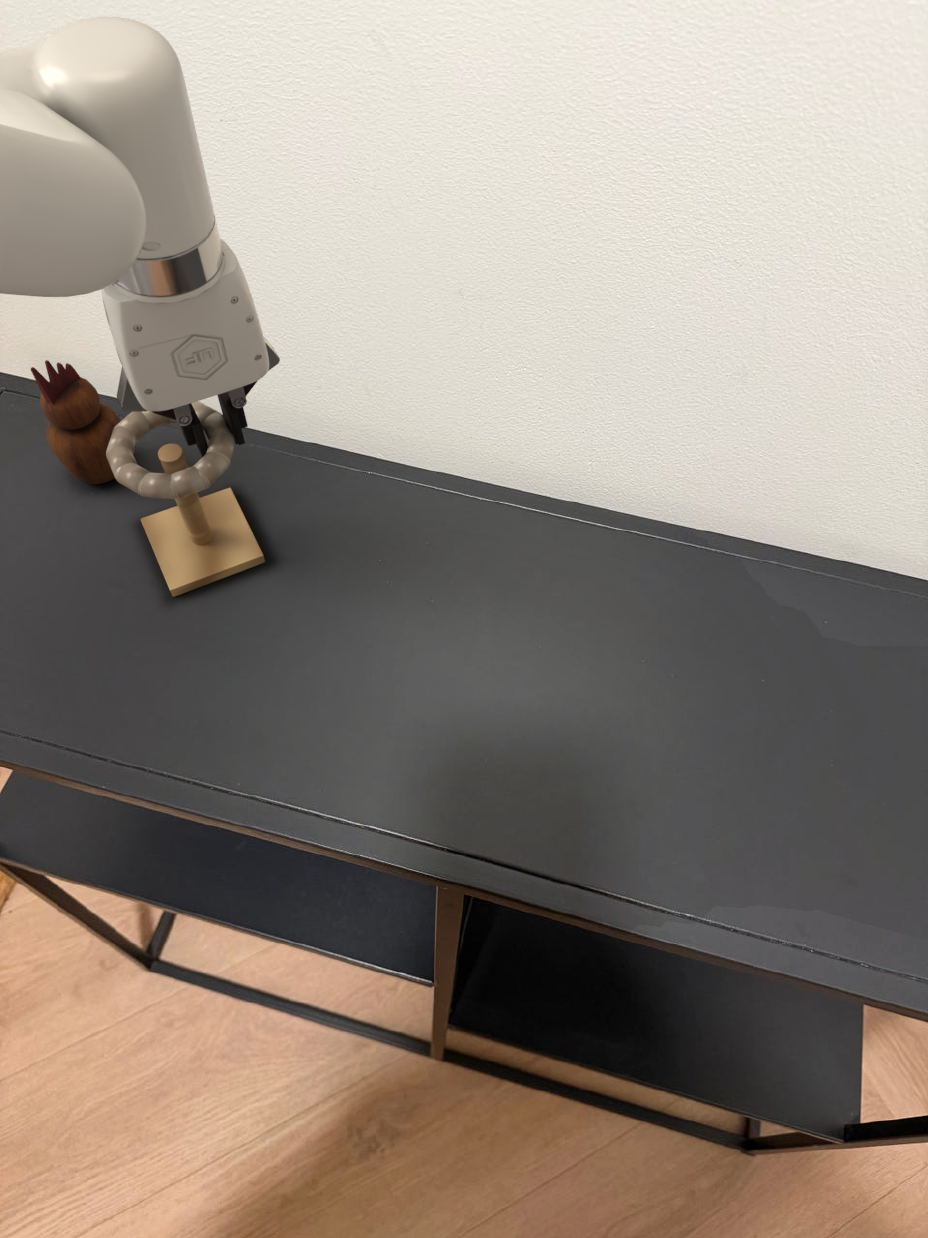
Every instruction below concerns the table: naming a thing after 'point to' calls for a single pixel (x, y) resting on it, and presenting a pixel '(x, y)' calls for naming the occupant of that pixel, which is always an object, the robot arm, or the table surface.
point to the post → (199, 534)
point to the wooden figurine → (77, 423)
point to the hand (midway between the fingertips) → (217, 437)
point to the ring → (165, 483)
